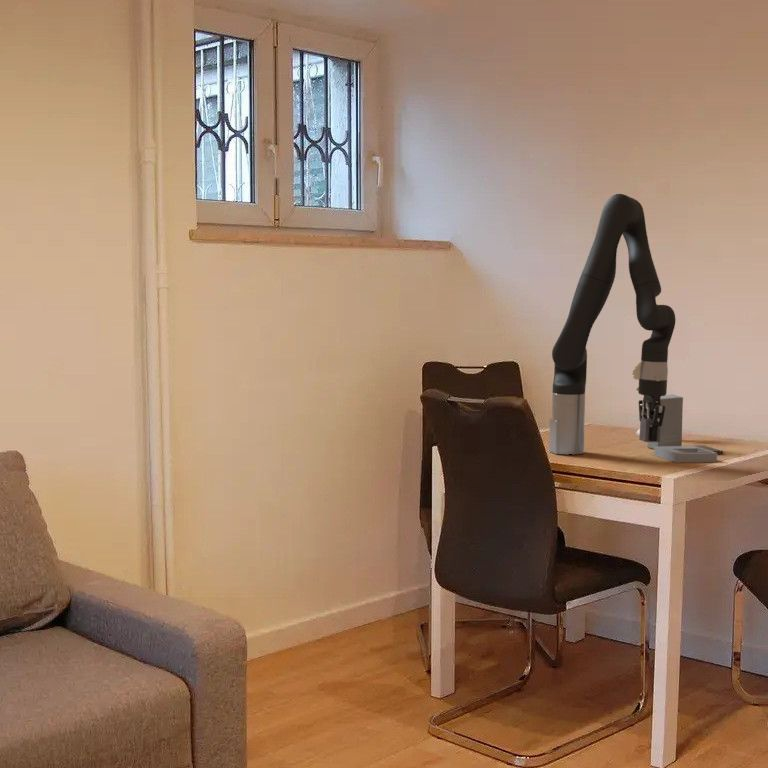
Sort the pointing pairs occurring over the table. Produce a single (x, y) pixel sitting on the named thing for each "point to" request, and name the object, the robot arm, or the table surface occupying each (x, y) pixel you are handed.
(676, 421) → the skincare box
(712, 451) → the phone
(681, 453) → the outlet plate
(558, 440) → the robot arm
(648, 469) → the table surface
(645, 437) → the block
